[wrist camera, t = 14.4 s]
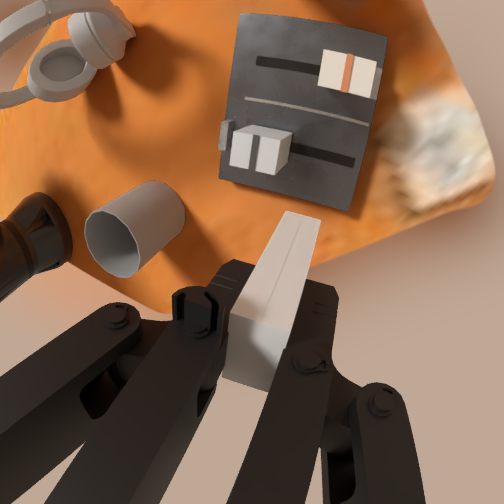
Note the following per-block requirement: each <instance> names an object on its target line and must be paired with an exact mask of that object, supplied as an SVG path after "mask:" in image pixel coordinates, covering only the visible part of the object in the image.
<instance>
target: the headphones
mask: <svg viewBox="0 0 504 504" xmlns="http://www.w3.org/2000/svg"><path fill="white" fill-rule="evenodd" d="M72 13H74V14H73V15H72V16H71V17H70V18H69V20H68V30H69V34H70V37H71V39H66V40H59V41H55V42H52V43H50V44H48V45H46V46H45V47H43V48H41V49H40V50H39V51H38V52H37V53H36V54H35V55H34V57H33V59H32V61H31V63H30V66H29V71H28V78H27V85H28V86H25V87H22V88H20V89H17V90H14V91H11V92H2V93H0V109H5V108H10V107H13V106H16V105H19V104H22V103H25V102H27V101H29V100H32V99H34V98H38V99H41V100H43V101H47V102H61V101H66V100H69V99H72V98H74V97H76V96H78V95H79V94H80V93H82V92H83V91H84V90H85V89H86V88H87V87H88V85H89V84H90V83H91V81H92V79H93V78H94V76H95V74H96V72H97V69H104V68H105V67H107V66H109V65H111V64H112V63H114V62H116V61H118V60H120V59H122V58H123V57H124V53H125V46H126V41H127V40H128V39H130V38H132V37H136V33H135V31H134V28H133V26H132V24H131V23H130V22H129V21H128V20H127V19H126V17H125V15H124V14H123V12H122V11H121V10H120V8H119V7H118V6H114V5H113V4H112V3H111V1H110V0H45V1H44V0H39V1H37V2H35V3H32V4H30V5H28V6H26V7H24V8H22V9H20V10H19V11H17V12H15V13H14V14H12V15H11V16H9V17H8V18H6V19H5V20H3V21H2V22H1V23H0V56H1V55H2V54H3V53H4V52H6V51H7V50H8V49H9V48H10V47H11V46H13V45H14V44H15V43H17V42H18V41H20V40H21V39H23V38H25V37H26V36H28V35H29V34H31V33H33V32H35V31H37V30H39V29H42V28H44V27H46V26H47V24H48V23H49V24H51V23H52V22H53V21H55V20H58V19H60V18H62V17H65V16H67V15H69V14H72Z"/></svg>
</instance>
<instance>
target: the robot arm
mask: <svg viewBox="0 0 504 504" xmlns="http://www.w3.org/2000/svg"><path fill="white" fill-rule="evenodd" d="M320 223H321V220H319V219H316V218H312V217H308V216H305V215H301V214H297V213H293V212H290V211H285V213H284V215H283V217H282V219H281V220H280V222H279V224H278V226H277V228H276V230H275V231H274V233H273V235H272V237H271V239H270V241H269V242H268V244H267V246H266V248H265V250H264V252H263V253H262V255H261V257H260V259H259V261H258V262H257V264H256V265H252V264H249V263H246V262H242V261H239V260H235V259H233V260H231V261H229V262H227V263H225V264H224V265H222V266H221V268H220V269H219V271H218V272H217V273H216V276H214V278H213V279H212V280H211V283H209V285H208V286H207V287H201V286H189V287H185V288H182V289H179V290H178V291H176V292H175V293H174V294H173V295H172V314H173V320H171V321H154V320H146V319H141V317H140V313H139V311H138V310H137V309H136V308H135V307H134V306H132V305H129V304H127V303H120V302H116V303H109V304H107V305H105V306H103V307H101V308H99V309H98V310H96V311H95V312H93V313H92V314H90V315H89V316H87V317H86V318H84V319H83V320H81V321H80V322H78V323H77V324H75V325H74V326H72V327H71V328H69V329H68V330H66V331H65V332H63V333H62V334H60V335H59V336H58V337H56V338H55V339H53V340H52V341H50V342H49V343H47V344H46V345H45V346H43V347H42V348H40V349H39V350H38V351H36V352H34V353H33V354H32V355H30V356H29V357H27V358H26V359H25V360H23V361H22V362H20V363H19V364H17V365H16V366H15V367H13V368H12V369H10V370H9V371H8V372H6V373H5V374H4V375H2V376H1V377H0V504H11V503H12V502H14V501H15V500H16V499H17V498H19V497H20V496H21V495H22V494H23V493H25V492H26V491H27V490H28V489H30V488H31V487H32V486H33V485H34V484H36V483H37V482H38V481H39V480H41V479H42V478H43V477H44V476H45V475H46V474H48V473H49V472H50V471H51V470H53V469H54V468H55V467H56V466H57V465H58V464H60V463H61V462H62V461H63V460H64V459H66V458H67V457H68V456H69V455H70V454H72V453H73V452H74V451H75V450H76V449H77V448H78V447H80V446H81V445H82V444H83V443H84V442H85V441H86V442H85V443H84V445H83V446H82V448H81V449H80V451H79V452H78V454H77V455H76V456H75V458H74V459H73V461H72V462H71V464H70V465H69V467H68V468H67V470H66V471H65V473H64V474H63V476H62V477H61V479H60V480H59V482H58V483H57V485H56V486H55V488H54V489H53V491H52V492H51V494H50V495H49V497H48V498H47V500H46V501H45V503H44V504H159V503H160V501H161V499H162V497H163V495H164V493H165V491H166V490H167V488H168V485H169V484H170V482H171V480H172V478H173V476H174V474H175V472H176V470H177V468H178V466H179V464H180V462H181V460H182V458H183V456H184V454H185V452H186V450H187V448H188V446H189V444H190V442H191V440H192V438H193V436H194V434H195V432H196V430H197V428H198V426H199V424H200V422H201V420H202V418H203V416H204V414H205V412H206V410H207V408H208V406H209V404H210V402H211V400H212V398H213V396H214V394H215V391H216V386H217V380H218V378H219V376H220V374H221V372H222V370H223V372H222V377H223V378H226V379H229V380H232V381H235V382H237V383H241V384H244V385H247V386H250V387H253V388H256V389H259V390H262V391H266V392H269V393H268V395H267V399H266V401H265V404H264V407H263V410H262V412H261V415H260V418H259V421H258V424H257V426H256V429H255V432H254V434H253V437H252V440H251V442H250V445H249V448H248V450H247V453H246V455H245V458H244V461H243V463H242V466H241V468H240V471H239V474H238V476H237V479H236V481H235V484H234V486H233V489H232V491H231V493H230V496H229V498H228V500H227V503H226V504H305V501H306V497H307V493H308V489H309V486H310V482H311V477H312V474H313V470H314V466H315V461H316V457H317V453H318V448H319V447H320V448H321V462H322V463H321V464H322V488H323V504H426V502H425V496H424V490H423V484H422V478H421V473H420V467H419V463H418V458H417V453H416V448H415V443H414V439H413V434H412V430H411V426H410V422H409V418H408V414H407V410H406V406H405V403H404V401H403V398H402V396H401V395H400V394H399V393H398V392H397V391H396V390H395V389H394V388H392V387H391V386H389V385H387V384H383V383H378V382H376V383H371V384H367V385H366V386H364V387H360V386H358V385H357V384H355V383H353V382H351V381H349V380H348V379H346V378H345V377H343V376H342V375H341V374H340V373H339V372H338V371H337V369H336V368H335V366H334V365H333V361H332V346H333V340H334V333H335V325H336V317H337V309H338V301H339V297H338V294H337V292H336V290H335V288H334V287H333V286H330V285H326V284H323V283H319V282H315V281H312V280H308V279H306V276H307V273H308V269H309V266H310V262H311V258H312V254H313V250H314V247H315V243H316V239H317V235H318V231H319V227H320ZM71 253H72V240H71V235H70V231H69V228H68V225H67V222H66V220H65V218H64V216H63V214H62V212H61V211H60V209H59V208H58V206H57V205H56V204H55V202H54V201H53V200H52V199H51V198H50V197H48V196H47V195H45V194H44V193H41V192H35V193H33V194H31V195H29V196H27V197H26V198H24V199H23V200H22V201H21V203H20V204H19V205H18V206H17V207H16V208H15V209H14V210H13V211H12V213H11V214H10V215H9V216H8V217H7V218H6V219H5V220H3V221H2V222H0V302H1V301H3V300H4V299H5V298H6V297H7V296H8V295H10V294H11V293H12V292H13V291H15V290H16V289H17V288H18V287H20V286H21V285H22V284H23V283H24V282H26V281H27V280H28V279H29V278H31V277H32V276H33V275H35V274H38V273H42V272H45V271H48V270H52V269H55V268H58V267H60V266H62V265H63V264H64V263H66V262H67V261H68V260H69V259H70V257H71Z"/></svg>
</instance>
